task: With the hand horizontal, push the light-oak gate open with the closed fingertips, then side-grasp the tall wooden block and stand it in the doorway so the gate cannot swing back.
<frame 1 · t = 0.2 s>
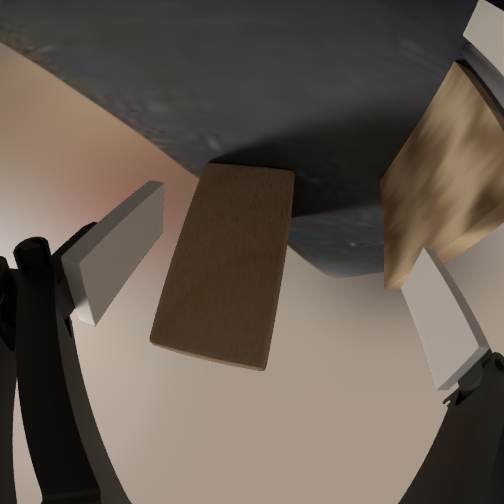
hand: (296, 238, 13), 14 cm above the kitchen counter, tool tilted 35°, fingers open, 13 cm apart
wooden block: (252, 190, 34), on the kitchen counter
wall stub: (483, 25, 8), on the kitchen counter
gate: (442, 184, 17), point 6 cm above the kitchen counter, hinge at 0.0°
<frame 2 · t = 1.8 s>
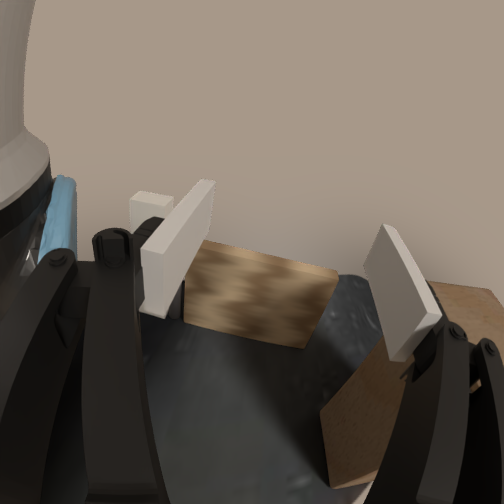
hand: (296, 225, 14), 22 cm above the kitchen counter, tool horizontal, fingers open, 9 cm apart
wooden block: (362, 445, 24), on the kitchen counter
wall stub: (153, 308, 36), on the kitchen counter
gate: (254, 296, 33), point 6 cm above the kitchen counter, hinge at 0.0°
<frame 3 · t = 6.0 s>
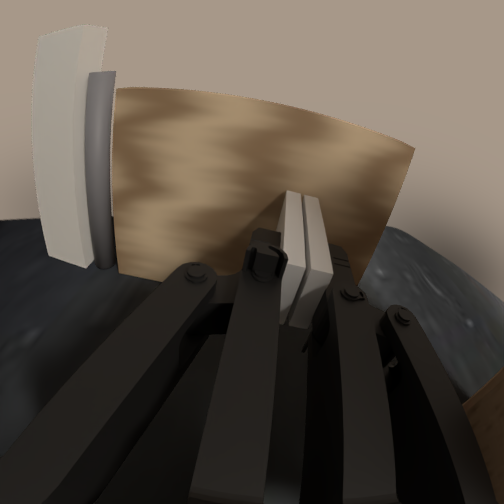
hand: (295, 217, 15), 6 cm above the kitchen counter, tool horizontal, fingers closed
wooden block: (463, 496, 7), on the kitchen counter
wall stub: (74, 252, 18), on the kitchen counter
gate: (249, 203, 16), point 6 cm above the kitchen counter, hinge at 5.2°, touching gripper
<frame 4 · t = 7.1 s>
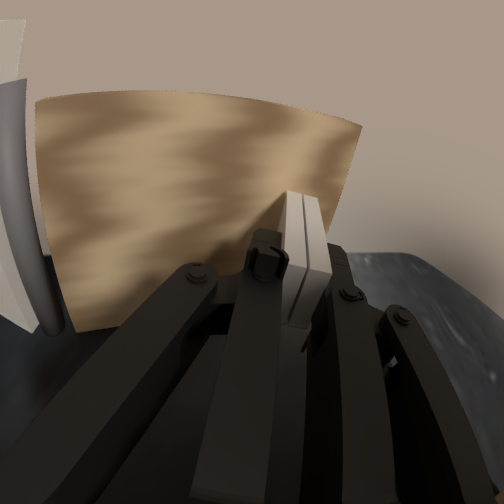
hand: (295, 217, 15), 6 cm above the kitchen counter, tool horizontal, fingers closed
wall stub: (22, 309, 13), on the kitchen counter
gate: (205, 210, 14), point 6 cm above the kitchen counter, hinge at 34.7°, touching gripper
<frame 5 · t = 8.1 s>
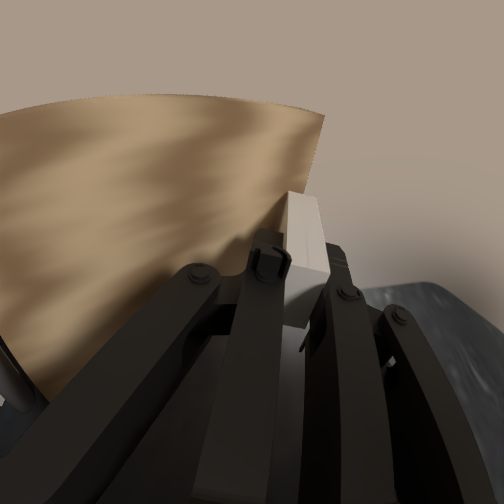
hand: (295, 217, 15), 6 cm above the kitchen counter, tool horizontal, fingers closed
gate: (162, 236, 12), point 6 cm above the kitchen counter, hinge at 51.6°, touching gripper
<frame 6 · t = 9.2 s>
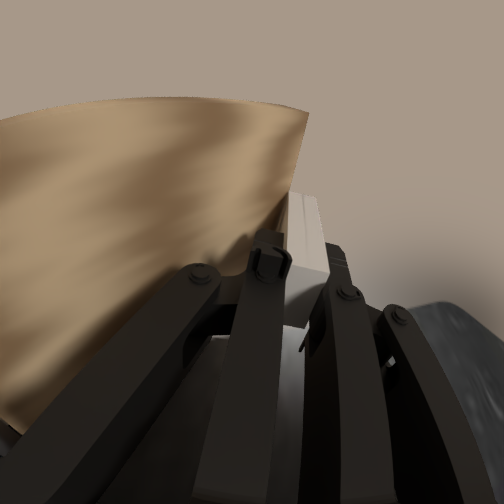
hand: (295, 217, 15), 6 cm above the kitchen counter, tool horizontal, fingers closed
gate: (138, 262, 10), point 6 cm above the kitchen counter, hinge at 59.5°, touching gripper
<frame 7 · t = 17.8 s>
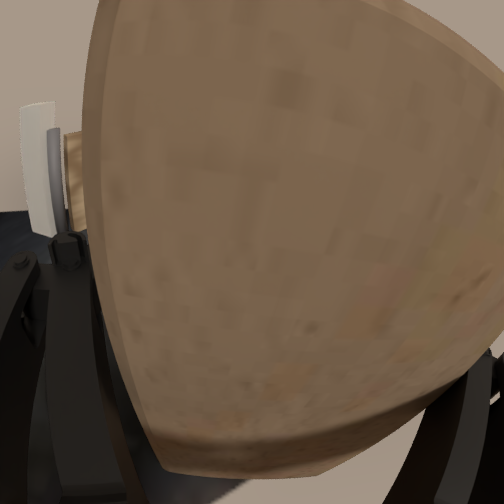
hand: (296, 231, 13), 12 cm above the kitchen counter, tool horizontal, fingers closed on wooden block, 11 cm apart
wooden block: (243, 414, 17), on the kitchen counter, touching gripper
wall stub: (47, 229, 29), on the kitchen counter
gate: (121, 169, 32), point 6 cm above the kitchen counter, hinge at 60.0°
when the fingers open (13 cm above the kitchen counter, at t = 21.9 s): wooden block drops 2 cm, on the kitchen counter.
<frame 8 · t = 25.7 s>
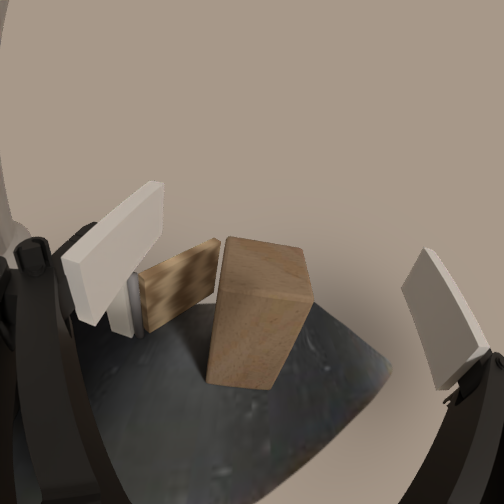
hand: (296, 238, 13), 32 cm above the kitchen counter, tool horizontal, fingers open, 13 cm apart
wooden block: (239, 362, 43), on the kitchen counter
wall stub: (124, 329, 43), on the kitchen counter
gate: (179, 283, 47), point 6 cm above the kitchen counter, hinge at 60.0°
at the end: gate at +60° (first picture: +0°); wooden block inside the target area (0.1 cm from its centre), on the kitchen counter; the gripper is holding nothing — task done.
